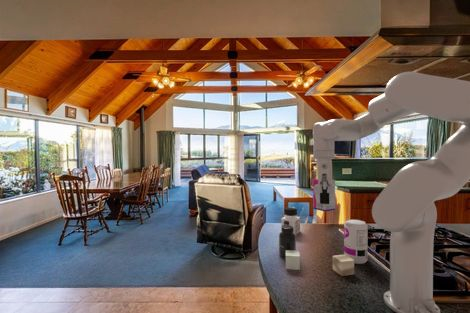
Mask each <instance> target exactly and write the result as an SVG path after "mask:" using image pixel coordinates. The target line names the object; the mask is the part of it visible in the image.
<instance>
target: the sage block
mask: <svg viewBox="0 0 470 313" xmlns="http://www.w3.org/2000/svg"><path fill="white" fill-rule="evenodd" d="M300 256H301V255H300V251H299V250H296V251H292V250H286V258H285V270H296V271H301V257H300Z"/></svg>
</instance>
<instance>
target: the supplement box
mask: <svg viewBox="0 0 470 313" xmlns="http://www.w3.org/2000/svg"><path fill="white" fill-rule="evenodd" d="M312 180H313V184H312V186H313V187H312V188H313V189H312V190H313V196H312V197H313V198H312V199H313V209H314V210H317V211H321V212H330V211H335V210H336V179H333V178H332V184H333V185H332V186H330V185H329V183H328V185H329V186H328V187H329V204H320V193H321V189H320V186H319V184H318V178H313V179H312ZM321 184H323V183H322V181H321Z"/></svg>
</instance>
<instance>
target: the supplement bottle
mask: <svg viewBox="0 0 470 313" xmlns="http://www.w3.org/2000/svg"><path fill="white" fill-rule="evenodd" d="M281 231H282V232H280V233H279V234H278V254H279V256H280V257H282V258H284V259H286V250H292V251H297V234H296V235H295V234H294V233H293V232H294V230H293V226H291V225H283V226H282V229H281Z"/></svg>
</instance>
